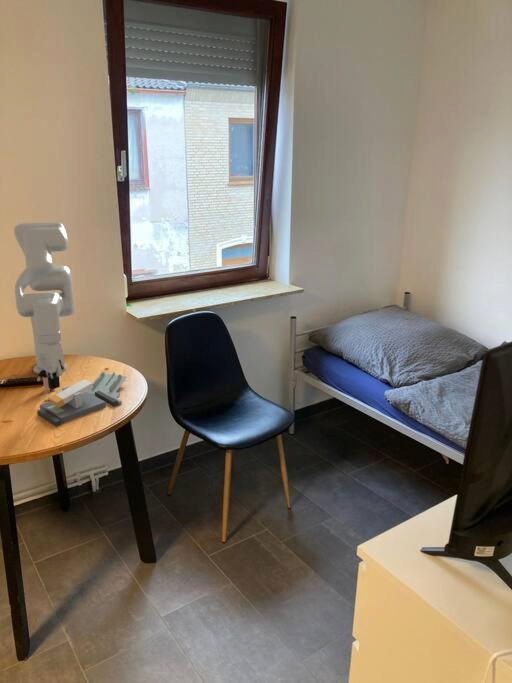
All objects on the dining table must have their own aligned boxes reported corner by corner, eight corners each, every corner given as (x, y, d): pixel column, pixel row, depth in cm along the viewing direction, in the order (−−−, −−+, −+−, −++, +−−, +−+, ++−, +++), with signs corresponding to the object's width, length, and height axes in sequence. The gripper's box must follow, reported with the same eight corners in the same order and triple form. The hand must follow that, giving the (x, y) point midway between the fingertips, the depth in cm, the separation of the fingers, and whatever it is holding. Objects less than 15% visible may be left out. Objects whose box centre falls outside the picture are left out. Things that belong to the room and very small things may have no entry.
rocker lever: (49, 402, 185) (47, 397, 184) (84, 383, 194) (83, 378, 193) (59, 408, 181) (57, 403, 180) (94, 388, 190) (93, 383, 189)
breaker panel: (40, 410, 187) (38, 391, 185) (84, 394, 199) (82, 377, 197) (61, 423, 178) (59, 404, 176) (105, 406, 190) (104, 388, 188)
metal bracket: (96, 367, 210) (131, 372, 206) (99, 379, 213) (134, 383, 210) (77, 391, 199) (114, 396, 195) (81, 403, 202) (117, 408, 199)
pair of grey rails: (38, 415, 183) (37, 410, 183) (101, 393, 201) (100, 388, 200) (57, 428, 175) (57, 423, 175) (121, 403, 193) (121, 399, 192)
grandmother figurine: (53, 386, 205) (50, 355, 201) (60, 389, 203) (57, 357, 199) (36, 393, 199) (32, 361, 195) (43, 396, 197) (39, 364, 193)
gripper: (26, 333, 177) (32, 384, 184) (49, 346, 168) (55, 398, 175) (47, 328, 182) (53, 377, 189) (71, 340, 173) (76, 391, 180)
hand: (54, 387), depth 182 cm, fingers closed
